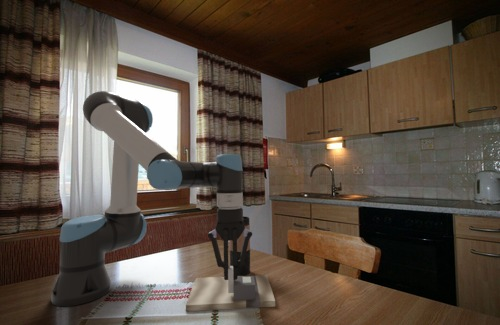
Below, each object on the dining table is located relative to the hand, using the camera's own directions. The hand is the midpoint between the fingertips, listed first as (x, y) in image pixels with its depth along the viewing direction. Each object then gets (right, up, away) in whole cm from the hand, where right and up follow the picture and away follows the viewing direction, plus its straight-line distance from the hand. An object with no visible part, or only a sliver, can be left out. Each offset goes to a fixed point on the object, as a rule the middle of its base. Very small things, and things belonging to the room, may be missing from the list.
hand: (231, 290), depth 71 cm
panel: (0, -3, +5) cm, 6 cm away
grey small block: (+4, -1, 0) cm, 4 cm away
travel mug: (+2, -4, +21) cm, 21 cm away
